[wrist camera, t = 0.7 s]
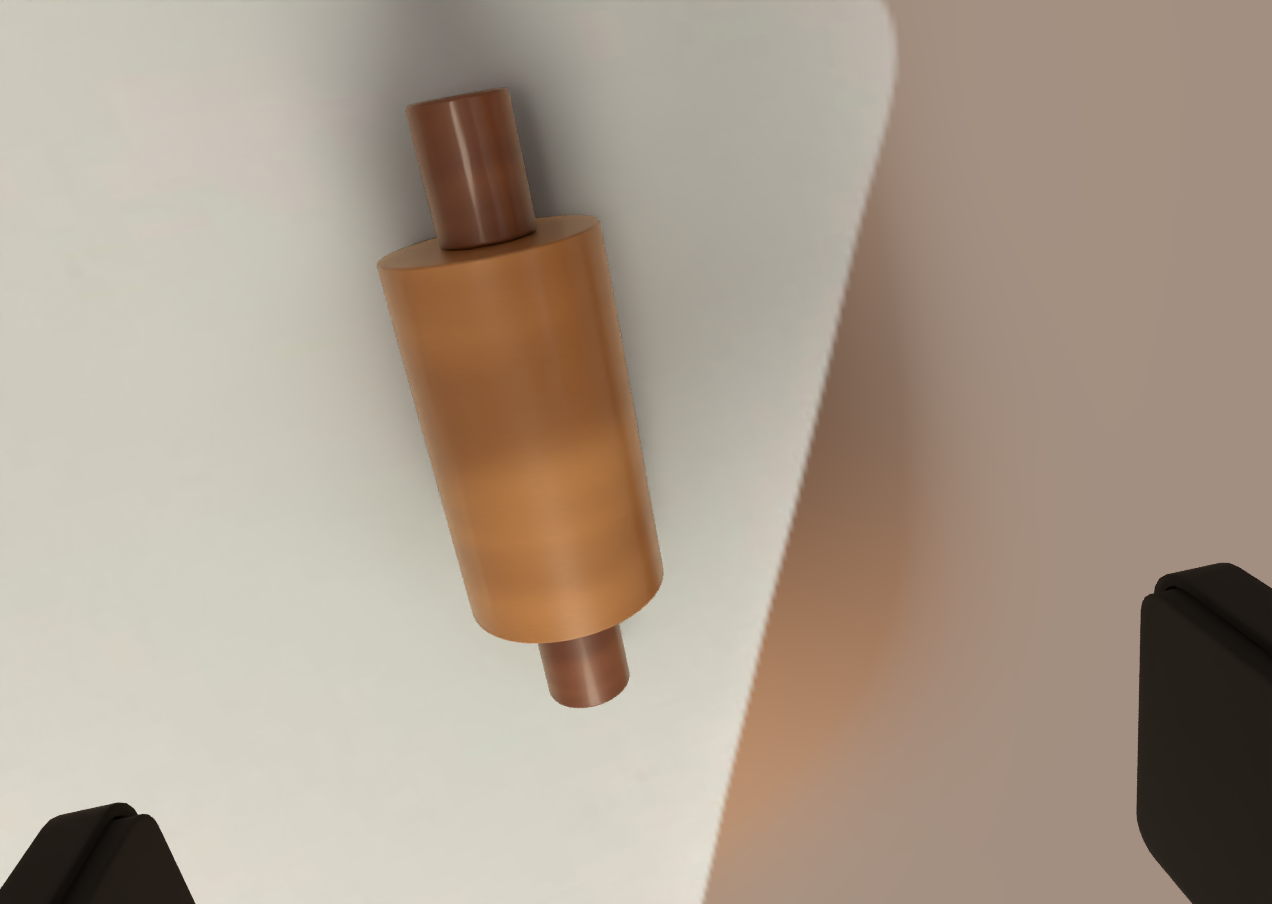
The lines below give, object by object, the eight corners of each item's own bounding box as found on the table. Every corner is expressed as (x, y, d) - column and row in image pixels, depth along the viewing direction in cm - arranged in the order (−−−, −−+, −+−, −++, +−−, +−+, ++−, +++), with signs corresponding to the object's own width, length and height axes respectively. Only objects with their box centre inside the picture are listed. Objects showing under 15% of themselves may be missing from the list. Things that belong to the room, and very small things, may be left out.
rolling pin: (362, 115, 22) (308, 120, 17) (572, 76, 22) (576, 72, 17) (503, 648, 27) (492, 762, 23) (670, 616, 27) (693, 724, 23)
